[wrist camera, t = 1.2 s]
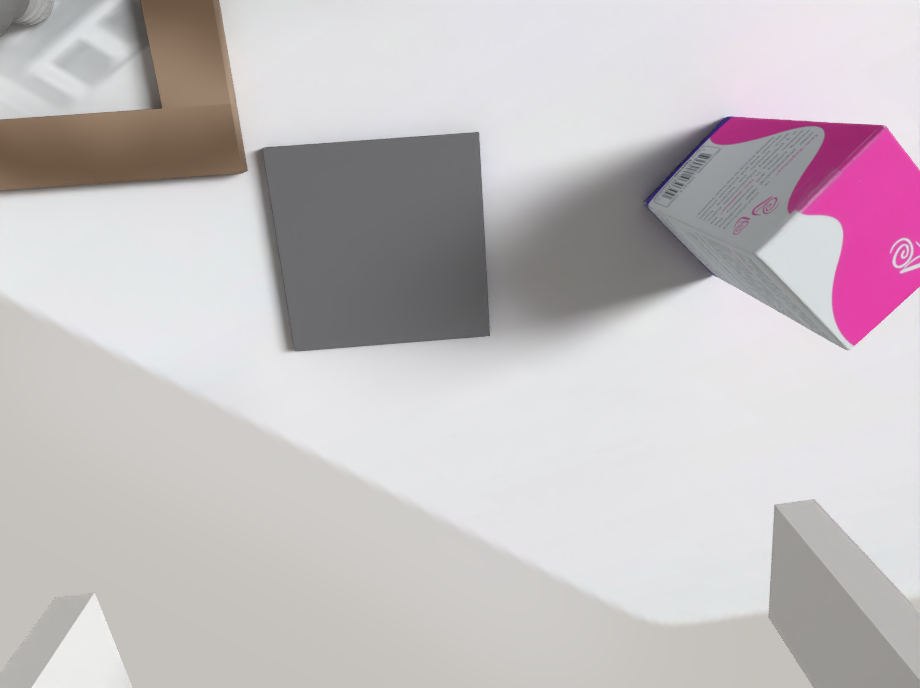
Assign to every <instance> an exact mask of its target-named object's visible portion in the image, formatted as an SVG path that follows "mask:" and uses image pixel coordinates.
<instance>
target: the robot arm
mask: <svg viewBox="0 0 920 688" xmlns="http://www.w3.org/2000/svg"><path fill="white" fill-rule="evenodd" d="M769 619H770V620H771V622H772V624H773V625H774V627H775V628H776V630H777V631H778V633H779V634H780V636H781V638H782V639H783V641H784V642H785V644H786V645H787V647H788V648H789V650H790V652H791V653H792V654H793V656H794V658H795V659H796V661H797V663H798V664H799V666H800V667H801V669H802V670H803V672H804V673H805V675H806V676H807V678H808V680H809V681H810V683H811V684H812V686H813V687H814V688H920V612H919V611H918V610H917V609H916V608H915V607H914V605H913V604H912V603H911V602H910V601H909V600H908V599H907V598H906V597H905V596H904V595H903V594H902V593H901V592H900V590H899V589H898V588H897V587H896V586H895V585H894V584H893V583H892V582H891V581H890V580H889V579H888V578H887V577H886V575H885V574H884V573H883V572H882V571H881V570H880V569H879V568H878V567H877V566H876V565H875V564H874V563H873V562H872V561H871V559H870V558H869V557H868V556H867V555H866V554H865V553H864V552H863V551H862V550H861V549H860V548H859V547H858V546H857V544H856V543H855V542H854V541H853V540H852V539H851V538H850V537H849V536H848V535H847V534H846V533H845V532H844V531H843V530H842V528H841V527H840V526H839V525H838V524H837V523H836V522H835V521H834V520H833V519H832V518H831V517H830V516H829V515H828V513H827V512H826V511H825V510H824V509H823V508H822V507H821V506H820V505H819V504H818V503H817V502H816V501H815V500H807V501H799V502H791V503H783V504H776V505H775V506H774V524H773V543H772V562H771V581H770V599H769ZM0 688H132V685H131V683H130V680H129V678H128V675H127V673H126V670H125V668H124V665H123V663H122V660H121V658H120V656H119V653H118V650H117V648H116V646H115V643H114V640H113V638H112V635H111V633H110V630H109V628H108V625H107V623H106V620H105V618H104V615H103V613H102V610H101V608H100V605H99V603H98V600H97V598H96V595H95V593H88V594H80V595H72V596H64V597H57V598H55V599H54V600H53V601H52V603H51V604H50V606H49V607H48V608H47V609H46V611H45V612H44V613H43V615H42V616H41V618H40V619H39V620H38V622H37V623H36V624H35V626H34V627H33V628H32V630H31V631H30V633H29V634H28V635H27V637H26V638H25V639H24V641H23V642H22V643H21V645H20V646H19V648H18V649H17V650H16V652H15V653H14V654H13V656H12V657H11V658H10V660H9V661H8V663H7V664H6V665H5V667H4V668H3V669H2V671H1V672H0Z"/></svg>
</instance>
